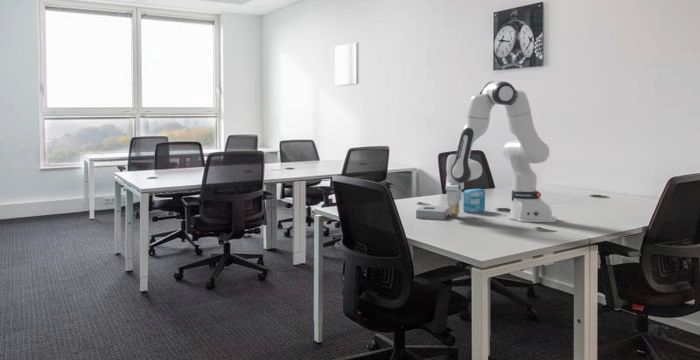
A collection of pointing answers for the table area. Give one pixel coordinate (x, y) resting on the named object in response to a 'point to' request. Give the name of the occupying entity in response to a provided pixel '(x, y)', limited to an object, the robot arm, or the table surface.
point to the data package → (474, 200)
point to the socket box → (433, 212)
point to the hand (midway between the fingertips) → (454, 212)
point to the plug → (455, 215)
